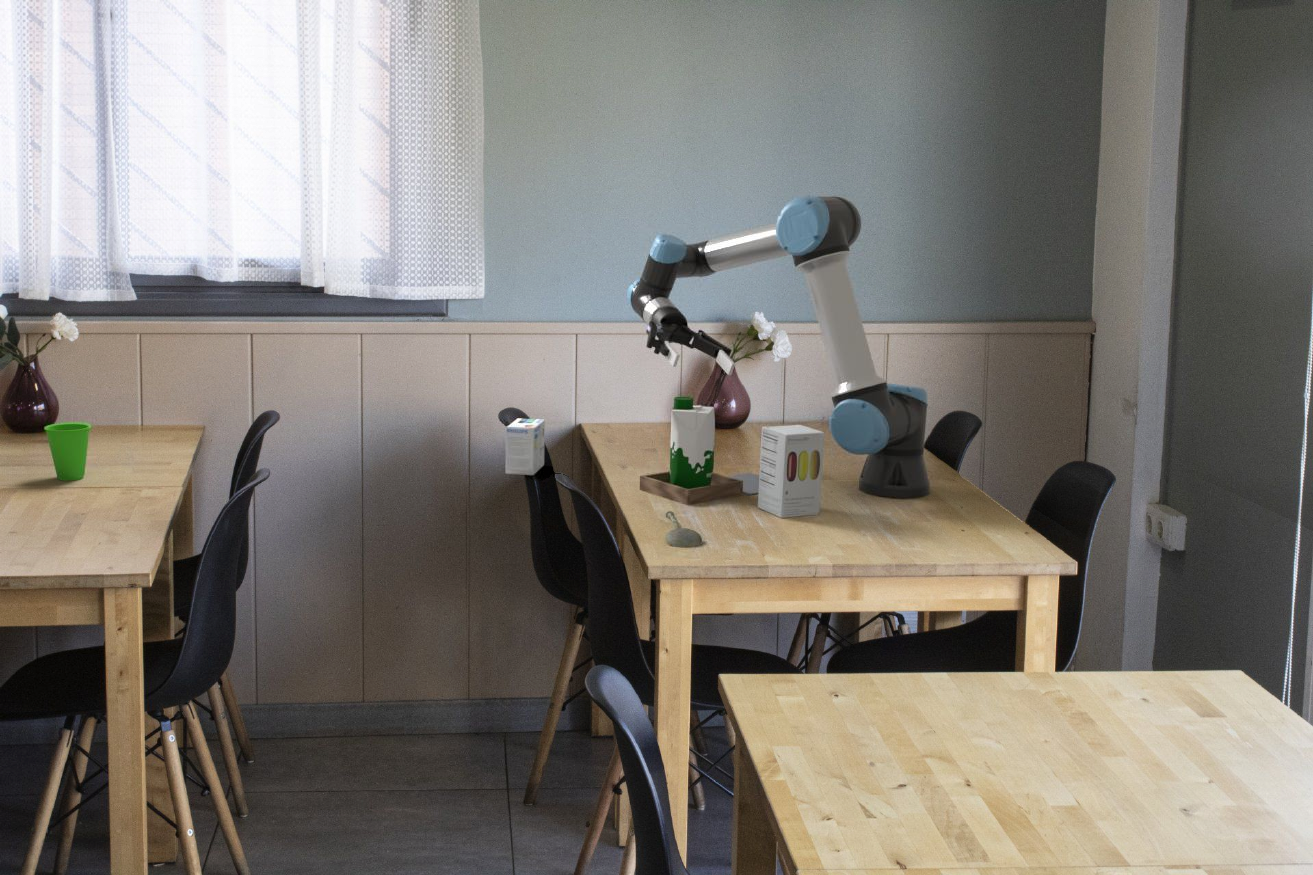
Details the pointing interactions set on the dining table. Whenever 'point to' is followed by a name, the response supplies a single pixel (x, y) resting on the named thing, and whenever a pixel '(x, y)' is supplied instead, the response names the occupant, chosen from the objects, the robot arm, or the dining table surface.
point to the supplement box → (790, 470)
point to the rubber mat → (748, 482)
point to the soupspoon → (682, 535)
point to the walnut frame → (716, 490)
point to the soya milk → (691, 444)
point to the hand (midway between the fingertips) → (704, 365)
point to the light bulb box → (525, 446)
